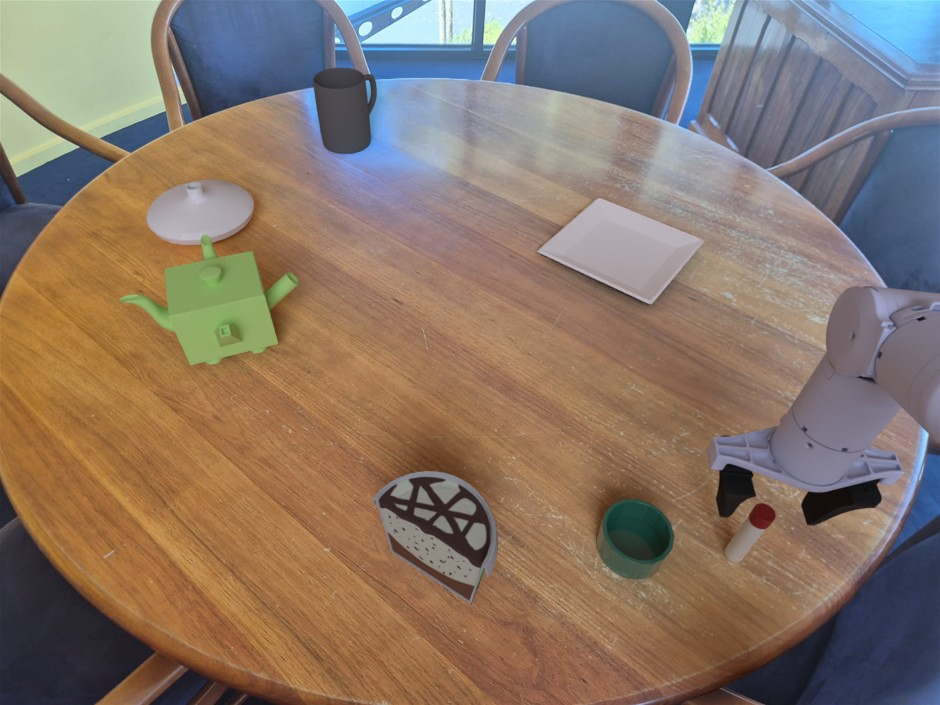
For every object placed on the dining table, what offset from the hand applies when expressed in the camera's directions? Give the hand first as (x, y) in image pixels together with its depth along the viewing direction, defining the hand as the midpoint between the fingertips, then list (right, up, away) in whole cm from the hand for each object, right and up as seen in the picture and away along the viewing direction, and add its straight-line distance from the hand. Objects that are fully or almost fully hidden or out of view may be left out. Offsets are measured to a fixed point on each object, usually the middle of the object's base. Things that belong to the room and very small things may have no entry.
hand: (764, 511), depth 56 cm
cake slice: (-29, -6, +6) cm, 30 cm away
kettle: (-58, +16, +25) cm, 65 cm away
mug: (-48, +55, +61) cm, 96 cm away
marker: (0, -6, +6) cm, 8 cm away
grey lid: (-68, +34, +41) cm, 87 cm away
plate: (-4, +29, +39) cm, 49 cm away
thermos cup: (-11, -5, +6) cm, 13 cm away
